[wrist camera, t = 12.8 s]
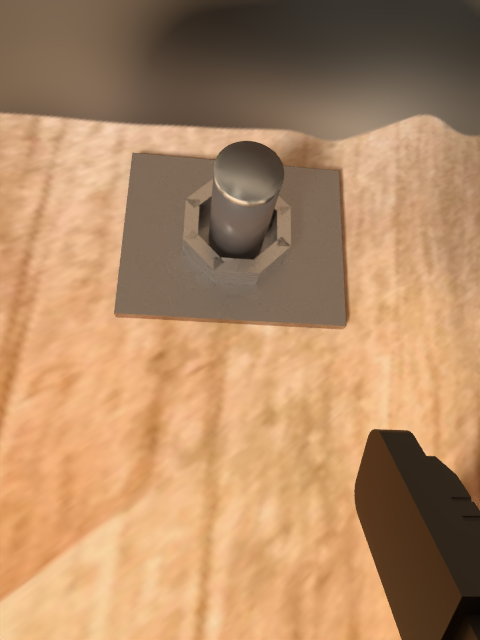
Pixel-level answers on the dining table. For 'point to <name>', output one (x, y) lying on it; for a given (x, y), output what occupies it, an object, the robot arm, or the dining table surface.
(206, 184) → the octagonal socket base
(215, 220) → the metal cylinder
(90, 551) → the dining table surface
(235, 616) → the dining table surface
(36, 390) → the dining table surface
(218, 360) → the dining table surface
